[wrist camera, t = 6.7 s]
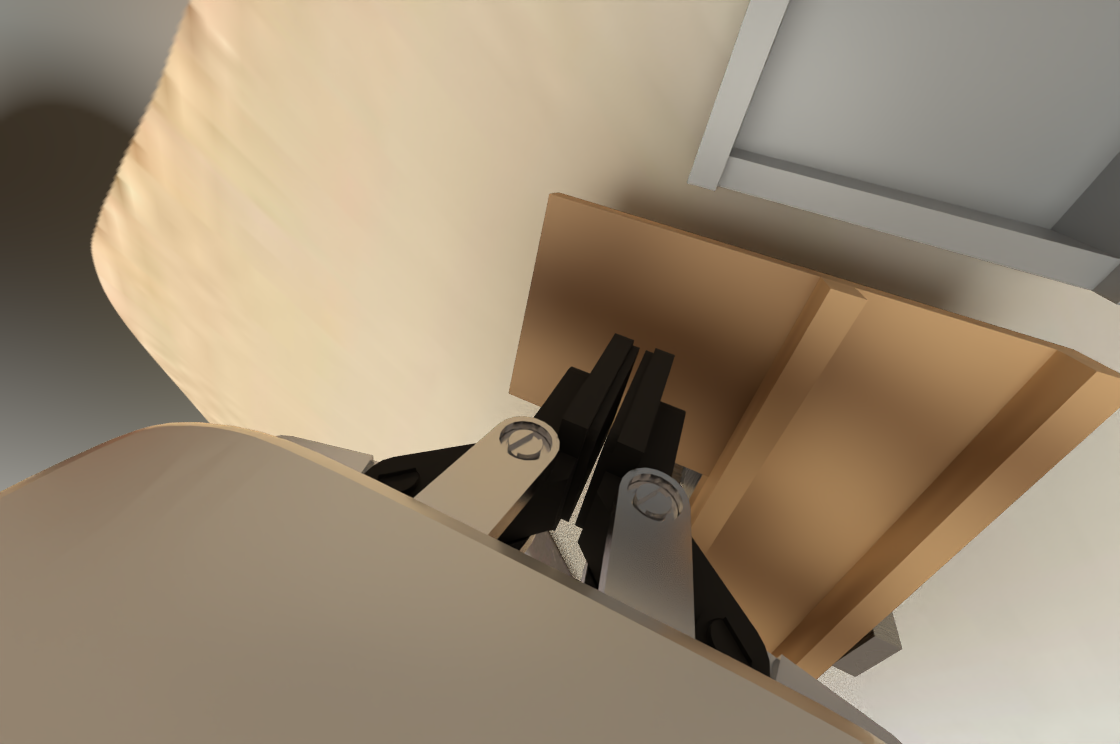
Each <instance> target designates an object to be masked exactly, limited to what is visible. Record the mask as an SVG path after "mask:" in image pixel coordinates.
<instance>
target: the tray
mask: <svg viewBox="0 0 1120 744" xmlns="http://www.w3.org/2000/svg"><path fill="white" fill-rule="evenodd" d="M687 183H688V184H692V185H695V186H699V187H703V188H706V189H710V190H713V191H715V190H716V188H717V186H719V187H723V188H726V189H730V190H733V191H737V192H740V193H744V194H748V195H751V196H755V197H758V198H762V199H765V200H769V201H773V202H776V203H780V204H783V205H787V206H791V207H794V208H798V209H801V210H805V211H808V212H812V213H816V214H819V215H823V216H826V217H830V218H833V219H837V220H841V221H844V222H848V223H851V224H855V225H859V226H862V227H866V228H869V229H873V230H876V231H880V232H884V233H887V234H891V235H894V236H898V237H901V238H905V239H909V240H912V241H916V242H919V243H923V244H927V245H930V246H934V247H937V248H941V249H944V250H948V251H952V252H955V253H959V254H962V255H966V256H969V257H973V258H977V259H980V260H984V261H987V262H991V263H995V264H998V265H1002V266H1005V267H1009V268H1012V269H1016V270H1020V271H1023V272H1027V273H1030V274H1034V275H1037V276H1041V277H1045V278H1048V279H1052V280H1055V281H1059V282H1062V283H1066V284H1070V285H1073V286H1077V287H1080V288H1084V289H1088V290H1091V291H1093V292H1095V293H1097V294H1099V295H1101V296H1102V297H1104V298H1106V299H1108V300H1110V301H1112V302H1113V303H1115V304H1117V305H1120V0H750V2H749V5H748V8H747V11H746V14H745V17H744V20H743V22H742V25H741V28H740V31H739V34H738V37H737V40H736V43H735V45H734V48H733V51H732V54H731V57H730V60H729V63H728V66H727V69H726V71H725V74H724V77H723V80H722V83H721V86H720V89H719V92H718V94H717V97H716V100H715V103H714V106H713V109H712V112H711V115H710V118H709V120H708V123H707V126H706V129H705V132H704V135H703V138H702V141H701V143H700V146H699V149H698V152H697V155H696V158H695V161H694V164H693V167H692V169H691V172H690V175H689V178H688V181H687Z"/></svg>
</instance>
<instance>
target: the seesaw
mask: <svg viewBox="0 0 1120 744" xmlns="http://www.w3.org/2000/svg"><path fill="white" fill-rule="evenodd" d="M615 333H616V334H619V335H622V336H625V337H627V338H630V339H633V340H634V344H633V345H634V346H636V347H639V348H640V349H639V352H638V355H637V358H636V360H635V363H634V366H633V369H632V371H631V374H630V377H629V380H628V382H627V385H626V388H625V391H624V393H623V396H622V399H621V402H620V404H619V407H618V410H617V412H616V415H615V418H616V416H617V413H618V411H619V409H620V407H621V405H622V402H623V400H624V398H625V396H626V393H627V391H628V389H629V387H630V385H631V382H632V380H633V378H634V376H635V373H636V371H637V369H638V367H639V364H640V362H641V360H642V358H643V356H644V353H645V351H646V350H647V351H650V352H653V353H654V351H655V348H657V349H660V350H663V351H665V352H668V353H671V354H674V355H675V357H674V360H673V364H672V367H671V370H670V373H669V376H668V379H667V382H666V385H665V389H664V392H663V395H662V398H661V401H662V402H664V403H667V404H669V405H672V406H674V407H677V408H679V409H682V410H685V411H686V415H685V420H684V424H683V429H682V433H681V438H680V442H679V446H678V451H677V455H676V460H675V463H677V464H679V465H682V466H684V467H686V468H689V469H691V470H694V471H696V472H698V473H701V474H703V475H702V477H701V479H700V480H699V482H698V484H697V486H696V488H695V490H694V491H693V493H692V495H691V497H690V499H689V502H690V507H691V534H692V538H693V539H694V540H695V542H696V543H697V545H698V546H699V548H700V549H701V551H702V552H703V554H704V555H705V556H706V558H707V559H708V561H709V562H710V564H711V565H712V567H713V568H714V569H715V571H716V572H717V574H718V575H719V577H720V578H721V580H722V581H723V583H724V584H725V585H726V587H727V588H728V590H729V591H730V593H731V594H732V596H733V597H734V598H735V600H736V601H737V603H738V604H739V606H740V607H741V609H742V610H743V612H744V613H745V614H746V616H747V617H748V619H749V620H750V622H751V623H752V625H753V626H754V627H755V629H756V630H757V632H758V634H759V636H760V637H761V639H762V641H763V643H764V645H765V647H766V650H767V651H768V652H769V653H771V654H772V655H773V656H775V657H776V658H778V657H779V656H780V655H781V654H782V655H783V656H785V657H786V658H788V659H789V660H790V661H792V662H793V663H794V664H796V665H797V666H799V667H800V668H801V669H803V670H804V671H805V672H807V673H808V674H810V675H811V676H812V677H814V678H815V679H817V678H819V677H820V676H821V675H822V674H823V673H824V672H825V671H826V670H827V669H829V668H830V667H831V666H832V665H833V664H834V663H835V662H836V661H838V660H839V659H840V658H841V657H842V656H843V655H844V654H845V653H846V652H848V651H849V650H850V649H851V648H852V647H853V646H854V645H855V644H856V643H858V642H859V641H860V640H861V639H862V638H863V637H864V636H865V635H866V634H868V633H869V632H870V631H871V630H872V629H873V628H874V627H875V626H877V625H878V624H879V623H880V622H881V621H882V620H883V619H884V618H885V617H887V616H888V615H889V614H890V613H891V612H892V611H893V610H894V609H895V608H897V607H898V606H899V605H900V604H901V603H902V602H903V601H904V600H906V599H907V598H908V597H909V596H910V595H911V594H912V593H913V592H914V591H916V590H917V589H918V588H919V587H920V586H921V585H922V584H923V583H924V582H926V581H927V580H928V579H929V578H930V577H931V576H932V575H933V574H934V573H936V572H937V571H938V570H939V569H940V568H941V567H942V566H943V565H945V564H946V563H947V562H948V561H949V560H950V559H951V558H952V557H953V556H955V555H956V554H957V553H958V552H959V551H960V550H961V549H962V548H963V547H965V546H966V545H967V544H968V543H969V542H970V541H971V540H972V539H974V538H975V537H976V536H977V535H978V534H979V533H980V532H981V531H982V530H984V529H985V528H986V527H987V526H988V525H989V524H990V523H991V522H992V521H994V520H995V519H996V518H997V517H998V516H999V515H1000V514H1001V513H1002V512H1004V511H1005V510H1006V509H1007V508H1008V507H1009V506H1010V505H1011V504H1013V503H1014V502H1015V501H1016V500H1017V499H1018V498H1019V497H1020V496H1021V495H1023V494H1024V493H1025V492H1026V491H1027V490H1028V489H1029V488H1030V487H1031V486H1033V485H1034V484H1035V483H1036V482H1037V481H1038V480H1039V479H1040V478H1042V477H1043V476H1044V475H1045V474H1046V473H1047V472H1048V471H1049V470H1050V469H1052V468H1053V467H1054V466H1055V465H1056V464H1057V463H1058V462H1059V461H1060V460H1062V459H1063V458H1064V457H1065V456H1066V455H1067V454H1068V453H1069V452H1070V451H1072V450H1073V449H1074V448H1075V447H1076V446H1077V445H1078V444H1079V443H1081V442H1082V441H1083V440H1084V439H1085V438H1086V437H1087V436H1088V435H1089V434H1091V433H1092V432H1093V431H1094V430H1095V429H1096V428H1097V427H1098V426H1099V425H1101V424H1102V423H1103V422H1104V421H1105V420H1106V419H1107V418H1108V417H1110V416H1111V415H1112V414H1113V413H1114V412H1115V411H1116V410H1117V409H1118V408H1120V373H1118V372H1116V371H1114V370H1112V369H1110V368H1108V367H1106V366H1104V365H1103V364H1101V363H1099V362H1097V361H1095V360H1093V359H1091V358H1089V357H1087V356H1085V355H1083V354H1081V353H1079V352H1077V351H1075V350H1074V349H1070V348H1067V347H1064V346H1061V345H1057V344H1054V343H1051V342H1047V341H1044V340H1041V339H1038V338H1034V337H1031V336H1028V335H1024V334H1021V333H1018V332H1015V331H1011V330H1008V329H1005V328H1002V327H998V326H995V325H992V324H988V323H985V322H982V321H979V320H975V319H972V318H969V317H965V316H962V315H959V314H956V313H952V312H949V311H946V310H943V309H939V308H936V307H933V306H929V305H926V304H923V303H920V302H916V301H913V300H910V299H906V298H903V297H900V296H897V295H893V294H890V293H887V292H884V291H880V290H877V289H874V288H870V287H867V286H864V285H861V284H857V283H854V282H851V281H847V280H844V279H841V278H838V277H834V276H831V275H828V274H825V273H821V272H818V271H815V270H811V269H808V268H805V267H802V266H798V265H795V264H792V263H788V262H785V261H782V260H779V259H775V258H772V257H769V256H765V255H762V254H759V253H756V252H752V251H749V250H746V249H743V248H739V247H736V246H733V245H729V244H726V243H723V242H720V241H716V240H713V239H710V238H706V237H703V236H700V235H697V234H693V233H690V232H687V231H684V230H680V229H677V228H674V227H670V226H667V225H664V224H661V223H657V222H654V221H651V220H647V219H644V218H641V217H638V216H634V215H631V214H628V213H625V212H621V211H618V210H615V209H611V208H608V207H605V206H602V205H598V204H595V203H592V202H588V201H585V200H582V199H579V198H575V197H572V196H569V195H566V194H562V193H552V194H549V198H548V203H547V208H546V213H545V218H544V223H543V228H542V233H541V238H540V242H539V247H538V252H537V257H536V262H535V267H534V272H533V277H532V282H531V286H530V291H529V296H528V301H527V306H526V311H525V316H524V321H523V326H522V330H521V335H520V340H519V345H518V350H517V355H516V360H515V365H514V370H513V374H512V379H511V384H510V389H509V394H511V395H514V396H516V397H519V398H521V399H523V400H526V401H528V402H531V403H533V404H535V405H538V406H540V407H542V405H543V404H544V402H545V401H546V400H547V398H548V397H549V395H550V394H551V393H552V391H553V390H554V388H555V387H556V386H557V384H558V383H559V381H560V380H561V379H562V377H563V376H564V375H565V373H566V372H567V370H568V369H569V368H570V367H575V368H577V369H580V370H583V371H585V372H588V373H591V371H592V370H593V368H594V366H595V365H596V363H597V361H598V360H599V358H600V357H601V355H602V353H603V352H604V350H605V349H606V347H607V345H608V344H609V342H610V341H611V339H612V337H613V336H614V334H615ZM615 418H614V420H615ZM613 422H614V421H613ZM612 425H613V423H612ZM611 427H612V426H611ZM610 429H611V428H610ZM608 434H609V433H608Z"/></svg>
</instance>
